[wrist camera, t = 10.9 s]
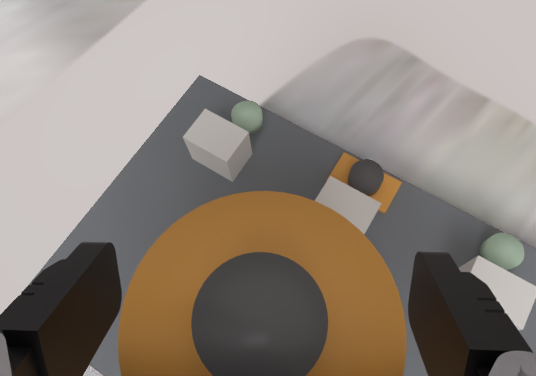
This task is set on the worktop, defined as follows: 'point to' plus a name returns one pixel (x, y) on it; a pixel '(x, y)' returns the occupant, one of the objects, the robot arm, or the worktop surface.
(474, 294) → the robot arm
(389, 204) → the board
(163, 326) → the orange bottle
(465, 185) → the worktop surface
